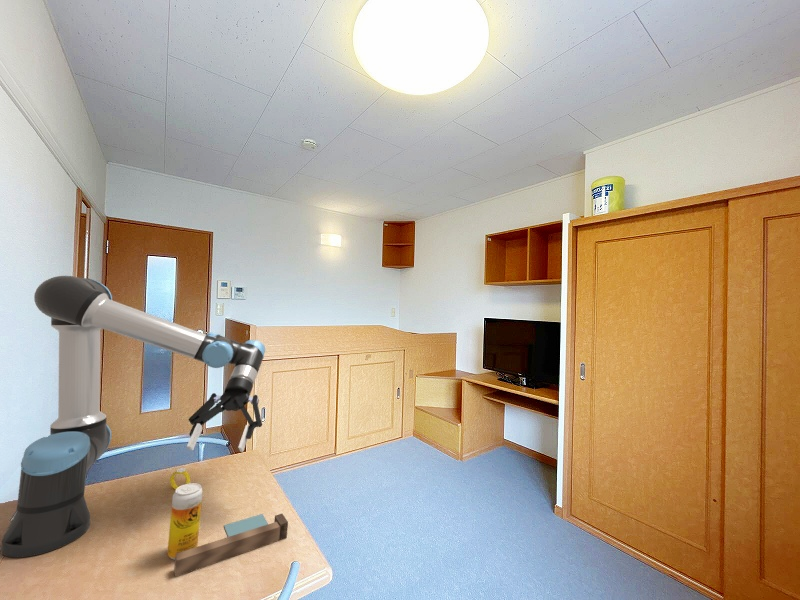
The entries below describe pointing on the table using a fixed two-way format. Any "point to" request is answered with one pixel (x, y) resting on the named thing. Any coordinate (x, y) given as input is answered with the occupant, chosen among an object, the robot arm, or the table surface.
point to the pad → (245, 525)
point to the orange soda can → (184, 519)
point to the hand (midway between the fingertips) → (215, 449)
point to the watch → (179, 471)
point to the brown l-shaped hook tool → (230, 546)
